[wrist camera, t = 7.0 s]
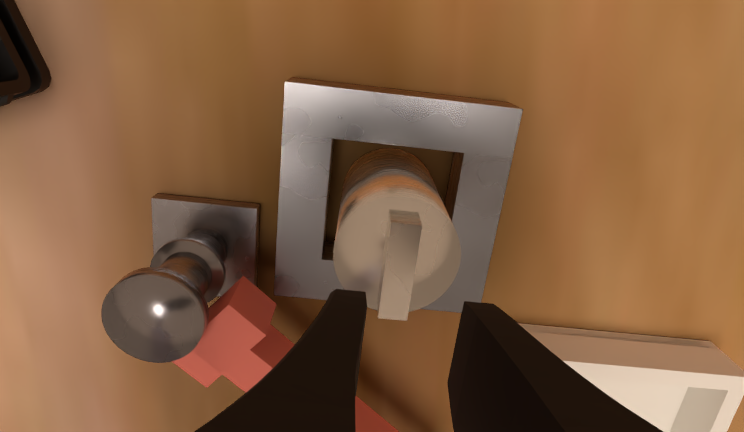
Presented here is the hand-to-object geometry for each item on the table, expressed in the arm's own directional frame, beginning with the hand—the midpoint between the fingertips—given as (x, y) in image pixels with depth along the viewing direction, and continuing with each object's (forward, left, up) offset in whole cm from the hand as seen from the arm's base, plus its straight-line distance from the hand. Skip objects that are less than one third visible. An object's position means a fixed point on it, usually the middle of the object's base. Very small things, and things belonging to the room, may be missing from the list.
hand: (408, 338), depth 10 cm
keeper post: (-3, +7, -10) cm, 12 cm away
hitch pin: (0, 0, -10) cm, 10 cm away
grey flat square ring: (0, 0, -10) cm, 10 cm away
